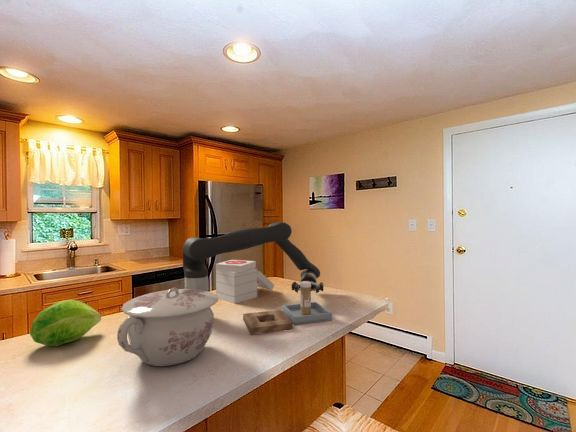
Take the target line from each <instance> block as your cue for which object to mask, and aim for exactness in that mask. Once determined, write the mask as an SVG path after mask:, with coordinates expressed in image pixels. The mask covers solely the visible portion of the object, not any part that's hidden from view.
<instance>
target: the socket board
mask: <svg viewBox="0 0 576 432" xmlns="http://www.w3.org/2000/svg"><path fill="white" fill-rule="evenodd" d="M242 315H243V316H242V320H243V322H244V324H245V327H246V328H247V330H248V332H249V334H250V336H255V335H262V334H270V333H278V332H279V333H280V332H286V331H293V330H294V324H293V322H292V321H291V320H290V319H289V318H288V317H287V316H286V315H285V314H284V313H283V312H282V309H275V310H274V309H273V310H266V311H257V312H256V311H255V312H249V313H248V312H247V313H246V312H245V313H242Z"/></svg>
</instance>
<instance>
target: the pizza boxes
mask: <svg viewBox="0 0 576 432" xmlns="http://www.w3.org/2000/svg"><path fill="white" fill-rule="evenodd" d="M256 266H257V262H256V260H245V259H242V260H241V259H230V260H226V261H221V262H219V263H218V262H217V263H215V272H216V273H215V295H216V296H217V297H218V300H222V301H225V302H228V303H231V304H238V303H242V302H245V301H249V300H251V299H255V298H258V288H262V289H265V290H270V291H273V290H274V287H275V284H274V283H273V282H272V281H271V280H270V279H269V278H268V277H266V276H265V274H263V273H262V272H261V271H260V270H258V268H257V267H256Z"/></svg>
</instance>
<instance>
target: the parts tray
mask: <svg viewBox="0 0 576 432" xmlns="http://www.w3.org/2000/svg"><path fill="white" fill-rule="evenodd" d="M281 306H282V309H281V311H282V312H283V313H284V314H285V315H286V316H287V317H288V318H289V319H290V320H291V321H292V322H293V326H298V325H306V324H315V323H322V322H330V321H332V318H333V313H332V312H331V311H329V310H328V309H327V308H325V307H324V306H322V305H321V304H320V303H318V302H317V301H313V302H312V301H311V314H310V315H302V314H301V313H300V312H301V305H300V303H291V304H282V305H281Z"/></svg>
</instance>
